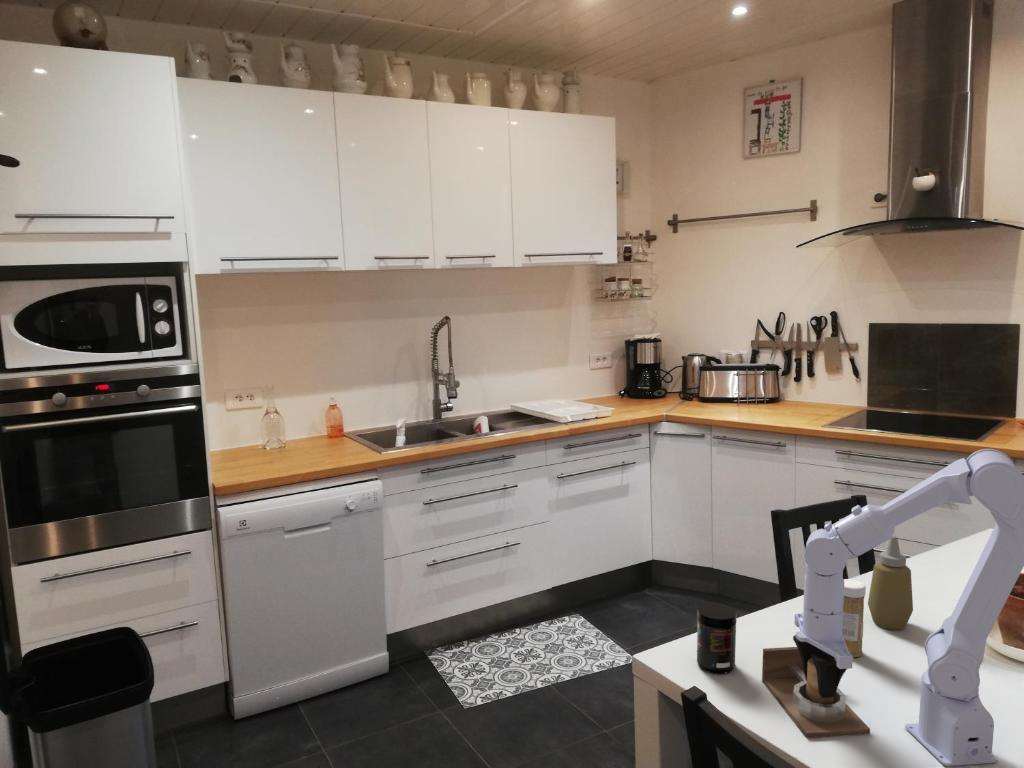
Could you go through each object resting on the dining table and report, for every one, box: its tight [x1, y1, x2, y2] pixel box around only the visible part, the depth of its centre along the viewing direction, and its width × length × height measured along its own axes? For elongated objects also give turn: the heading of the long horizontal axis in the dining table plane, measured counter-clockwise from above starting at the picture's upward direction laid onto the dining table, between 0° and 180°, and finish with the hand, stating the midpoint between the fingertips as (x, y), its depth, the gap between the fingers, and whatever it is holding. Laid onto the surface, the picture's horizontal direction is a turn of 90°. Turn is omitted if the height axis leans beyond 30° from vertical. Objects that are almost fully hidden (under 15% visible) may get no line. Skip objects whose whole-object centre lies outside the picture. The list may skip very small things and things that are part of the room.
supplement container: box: [696, 602, 738, 675], centre depth 131 cm, size 7×7×10 cm
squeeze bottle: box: [867, 535, 914, 631], centre depth 145 cm, size 8×8×18 cm
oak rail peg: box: [806, 658, 834, 705], centre depth 116 cm, size 4×4×6 cm
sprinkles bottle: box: [842, 578, 867, 658], centre depth 134 cm, size 5×5×13 cm
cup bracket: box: [761, 646, 871, 739], centre depth 118 cm, size 16×10×6 cm, turn 4°
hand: (819, 688), depth 116 cm, fingers closed on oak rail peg, 4 cm apart
